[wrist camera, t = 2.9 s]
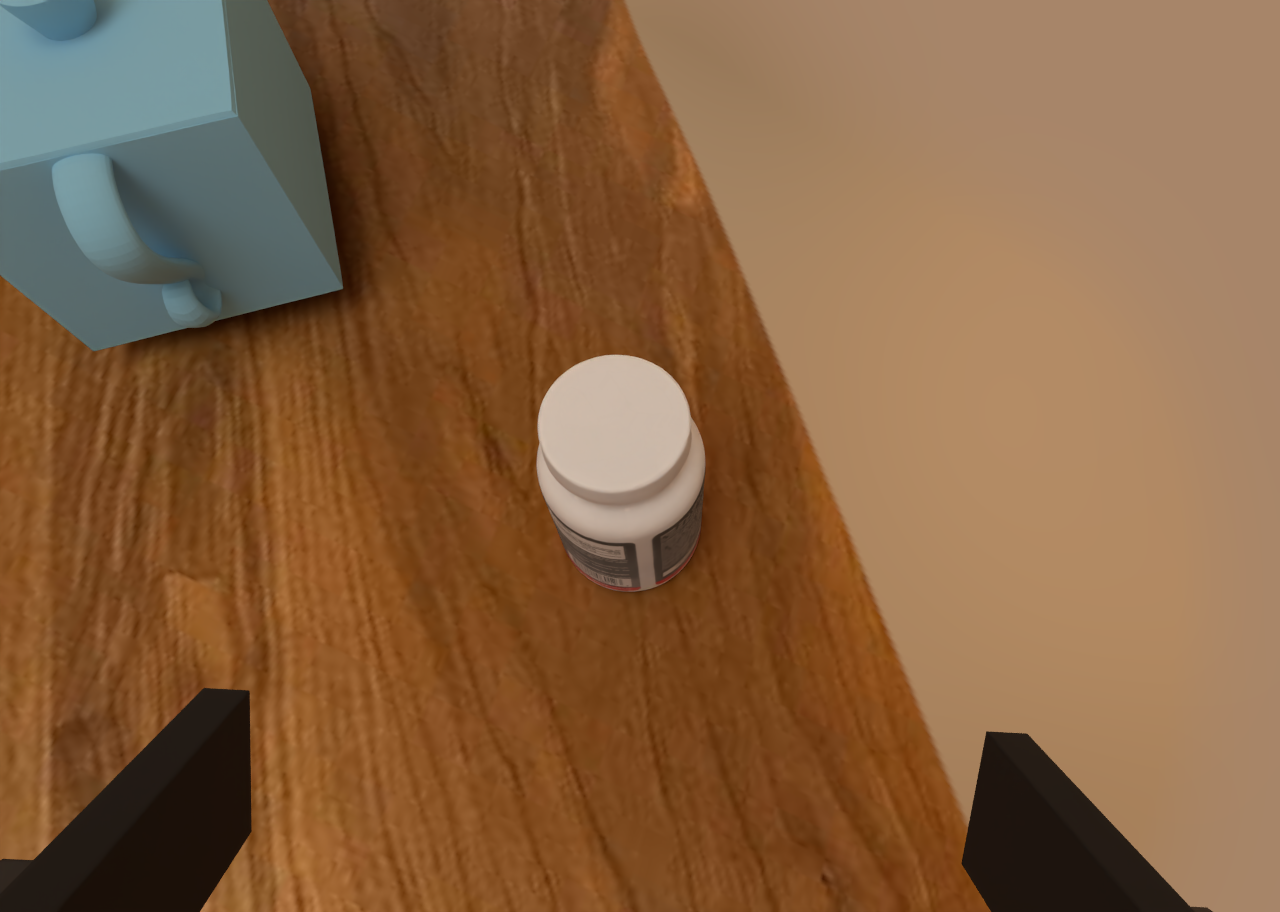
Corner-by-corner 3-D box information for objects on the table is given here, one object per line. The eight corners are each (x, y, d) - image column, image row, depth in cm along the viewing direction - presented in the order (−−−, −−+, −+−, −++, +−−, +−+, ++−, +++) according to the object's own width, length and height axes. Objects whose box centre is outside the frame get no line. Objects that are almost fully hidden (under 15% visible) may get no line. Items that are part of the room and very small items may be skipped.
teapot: (365, 358, 37) (210, 123, 25) (119, 422, 36) (-174, 211, 24) (310, 39, 46) (176, -255, 33) (111, 83, 45) (-105, -201, 33)
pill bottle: (671, 446, 35) (672, 316, 26) (721, 567, 33) (740, 470, 24) (544, 490, 34) (499, 371, 25) (586, 615, 32) (553, 535, 23)
